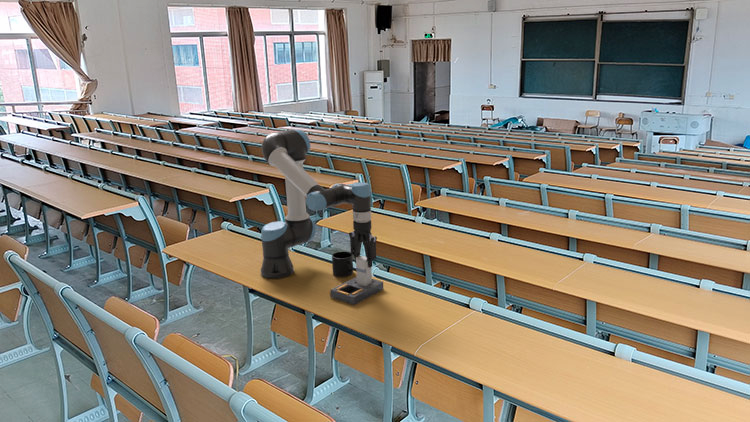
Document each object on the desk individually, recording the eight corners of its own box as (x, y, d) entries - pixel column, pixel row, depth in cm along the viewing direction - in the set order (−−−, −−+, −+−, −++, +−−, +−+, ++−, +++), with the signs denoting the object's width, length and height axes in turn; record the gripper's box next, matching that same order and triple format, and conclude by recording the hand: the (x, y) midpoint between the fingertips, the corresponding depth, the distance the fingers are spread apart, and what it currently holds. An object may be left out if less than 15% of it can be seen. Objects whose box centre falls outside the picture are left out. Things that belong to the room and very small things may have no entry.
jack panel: (330, 297, 230) (330, 288, 229) (360, 282, 244) (360, 274, 243) (354, 305, 222) (353, 296, 221) (383, 289, 236) (383, 281, 235)
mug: (344, 280, 246) (344, 261, 244) (328, 273, 255) (327, 255, 253) (361, 274, 252) (360, 256, 250) (344, 267, 261) (343, 249, 258)
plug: (356, 289, 236) (355, 259, 232) (363, 286, 240) (362, 255, 236) (365, 292, 234) (364, 261, 230) (372, 288, 237) (371, 258, 233)
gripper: (340, 218, 231) (342, 270, 237) (372, 226, 220) (374, 280, 226) (352, 214, 236) (354, 265, 243) (384, 221, 225) (385, 274, 232)
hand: (363, 272), depth 234 cm, fingers closed on plug, 5 cm apart
